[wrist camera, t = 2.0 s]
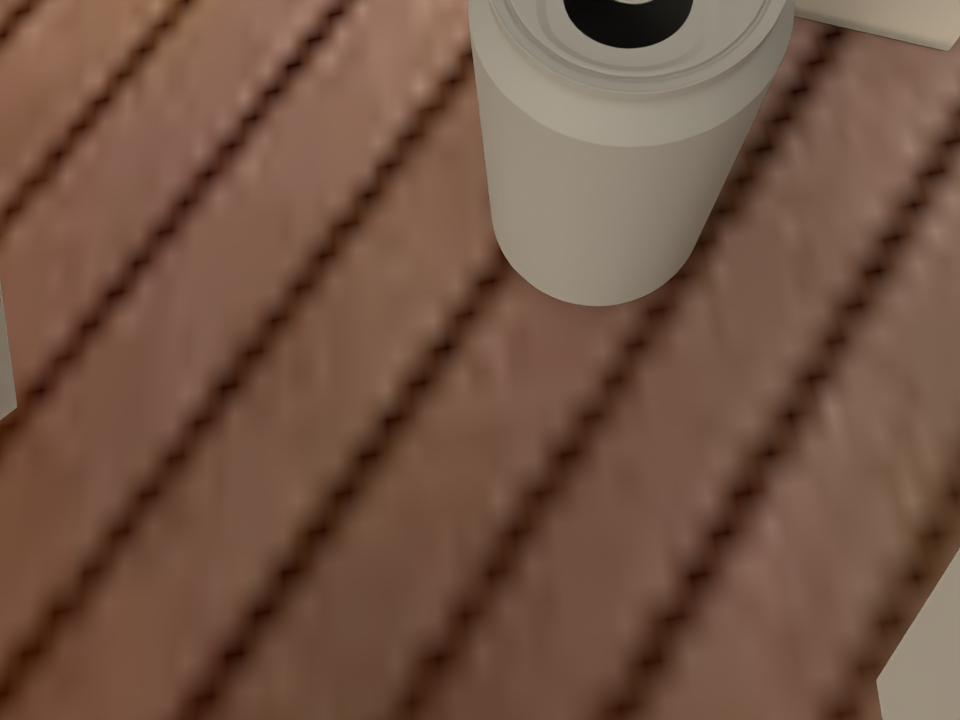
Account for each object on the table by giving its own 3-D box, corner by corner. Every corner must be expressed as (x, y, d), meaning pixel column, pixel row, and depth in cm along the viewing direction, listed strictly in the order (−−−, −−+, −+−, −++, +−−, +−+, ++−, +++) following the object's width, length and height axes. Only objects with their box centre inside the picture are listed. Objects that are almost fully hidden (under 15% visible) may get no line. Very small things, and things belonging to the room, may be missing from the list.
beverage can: (471, 291, 27) (425, 77, 16) (517, 107, 29) (504, -213, 17) (677, 333, 27) (788, 141, 15) (713, 142, 28) (839, -168, 17)
